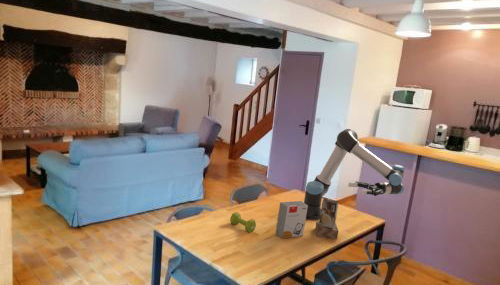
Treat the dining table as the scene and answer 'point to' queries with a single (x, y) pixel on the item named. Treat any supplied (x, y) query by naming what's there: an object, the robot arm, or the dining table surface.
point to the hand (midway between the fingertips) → (355, 188)
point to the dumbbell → (243, 222)
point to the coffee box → (328, 213)
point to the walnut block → (326, 231)
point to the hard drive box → (291, 219)
